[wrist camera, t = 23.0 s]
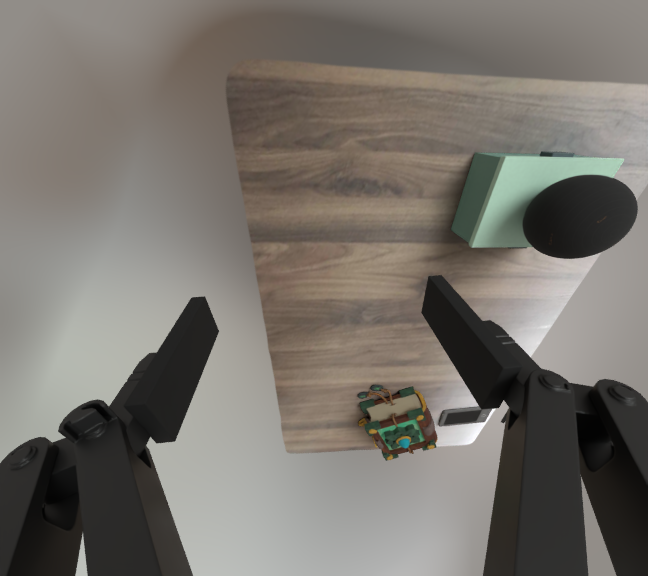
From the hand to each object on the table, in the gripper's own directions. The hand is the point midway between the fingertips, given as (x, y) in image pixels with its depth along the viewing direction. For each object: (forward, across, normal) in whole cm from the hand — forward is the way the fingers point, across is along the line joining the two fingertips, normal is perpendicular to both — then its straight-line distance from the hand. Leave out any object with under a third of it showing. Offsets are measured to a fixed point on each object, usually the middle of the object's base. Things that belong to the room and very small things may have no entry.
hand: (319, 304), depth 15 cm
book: (+29, +18, -63) cm, 71 cm away
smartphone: (+28, +42, -71) cm, 87 cm away
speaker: (+22, +32, -3) cm, 39 cm away
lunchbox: (+29, +33, -3) cm, 43 cm away
